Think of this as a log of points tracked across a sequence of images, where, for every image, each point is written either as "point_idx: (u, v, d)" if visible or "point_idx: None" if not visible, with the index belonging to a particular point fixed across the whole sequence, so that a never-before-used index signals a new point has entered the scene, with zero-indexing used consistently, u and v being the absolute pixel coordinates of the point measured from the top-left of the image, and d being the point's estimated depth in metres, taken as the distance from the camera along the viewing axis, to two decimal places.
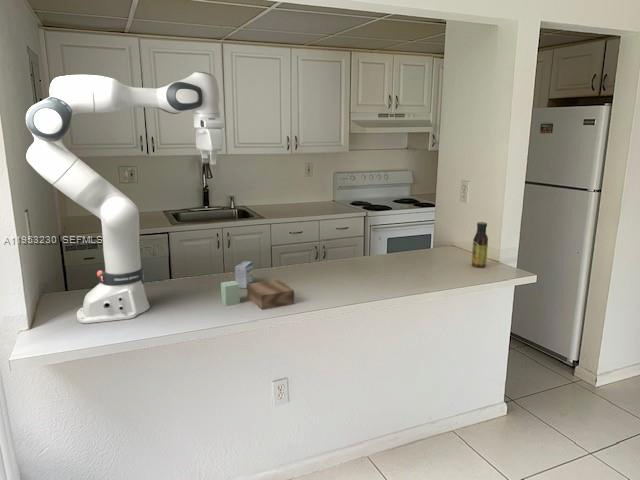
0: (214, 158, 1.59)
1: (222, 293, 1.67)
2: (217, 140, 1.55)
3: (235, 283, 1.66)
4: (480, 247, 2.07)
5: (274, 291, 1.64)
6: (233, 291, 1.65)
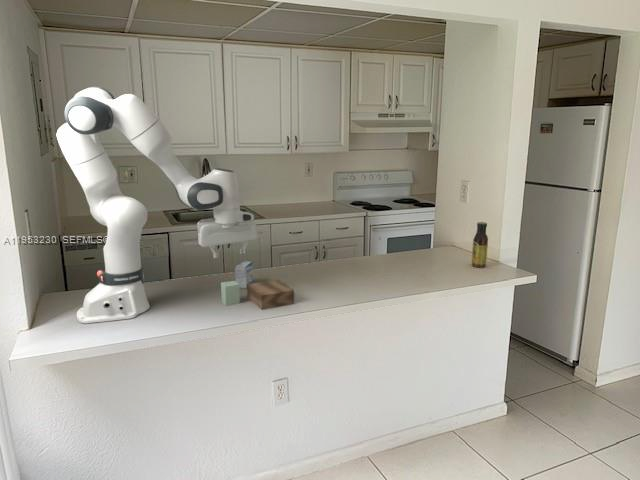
0: None
1: (222, 293, 1.67)
2: None
3: (235, 283, 1.66)
4: (480, 247, 2.07)
5: (274, 291, 1.64)
6: (233, 291, 1.65)
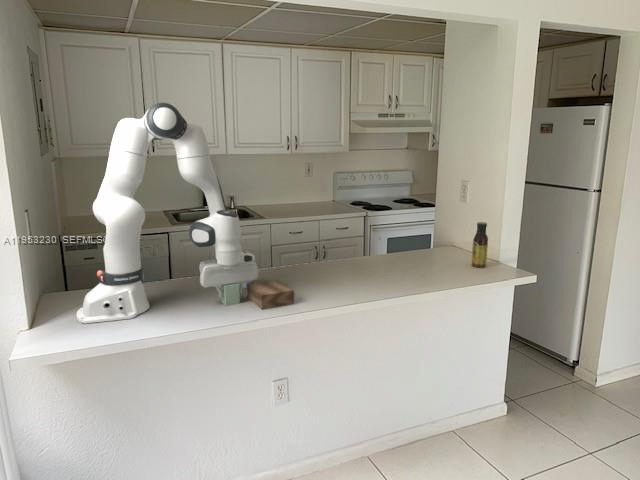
0: None
1: None
2: None
3: (235, 283, 1.66)
4: (480, 247, 2.07)
5: (274, 291, 1.64)
6: (233, 291, 1.65)
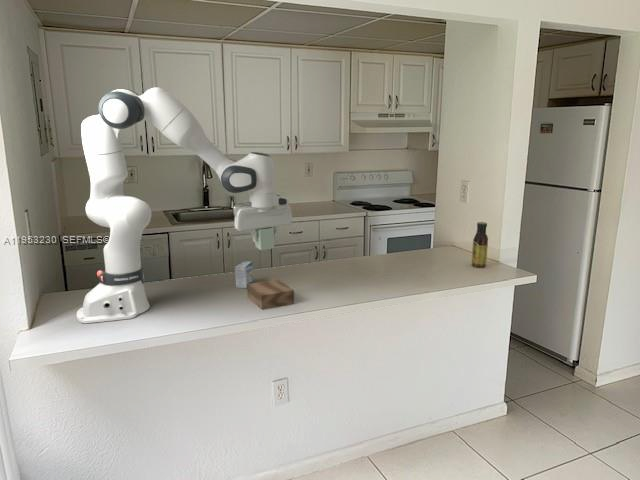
0: None
1: None
2: None
3: (269, 227, 1.63)
4: (480, 247, 2.07)
5: (274, 291, 1.64)
6: (268, 235, 1.62)
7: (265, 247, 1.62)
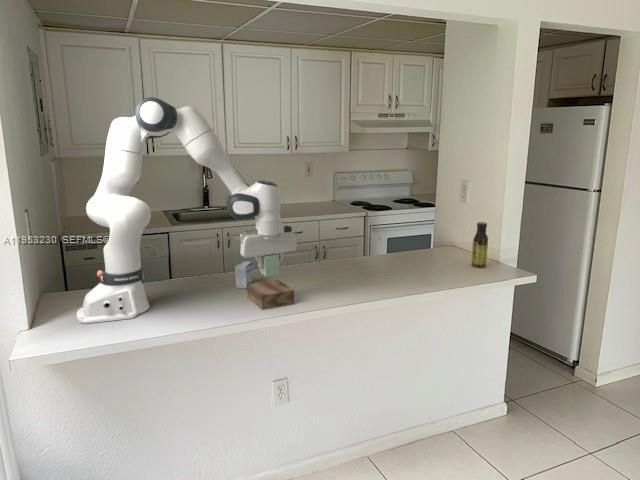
0: None
1: None
2: None
3: (274, 254, 1.66)
4: (480, 247, 2.07)
5: (274, 291, 1.64)
6: (273, 262, 1.65)
7: (270, 273, 1.65)
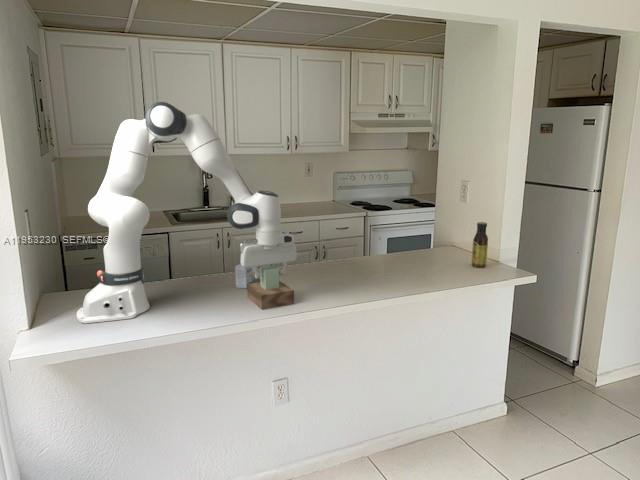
0: None
1: (261, 277, 1.68)
2: None
3: (274, 268, 1.67)
4: (480, 247, 2.07)
5: (274, 291, 1.64)
6: (273, 275, 1.66)
7: (270, 287, 1.66)
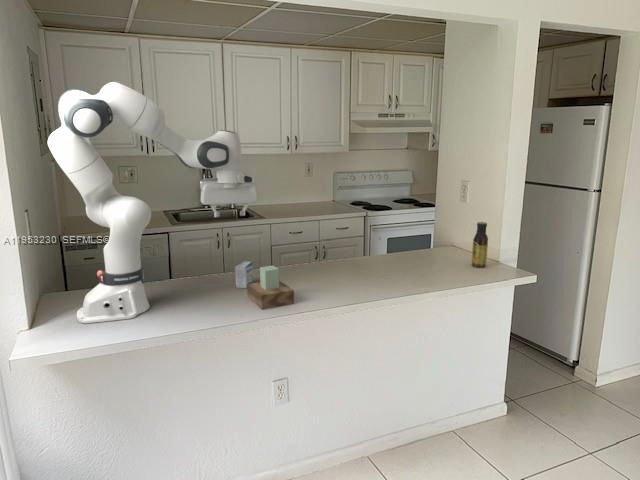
0: None
1: (261, 277, 1.68)
2: None
3: (274, 268, 1.67)
4: (480, 247, 2.07)
5: (274, 291, 1.64)
6: (273, 275, 1.66)
7: (270, 287, 1.66)
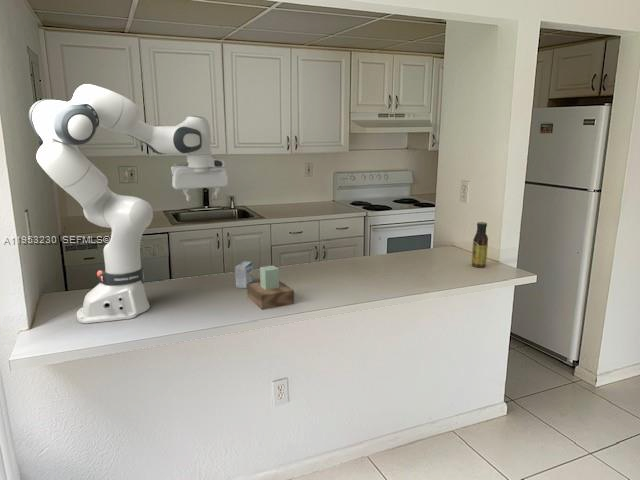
0: None
1: (261, 277, 1.68)
2: None
3: (274, 268, 1.67)
4: (480, 247, 2.07)
5: (274, 291, 1.64)
6: (273, 275, 1.66)
7: (270, 287, 1.66)
